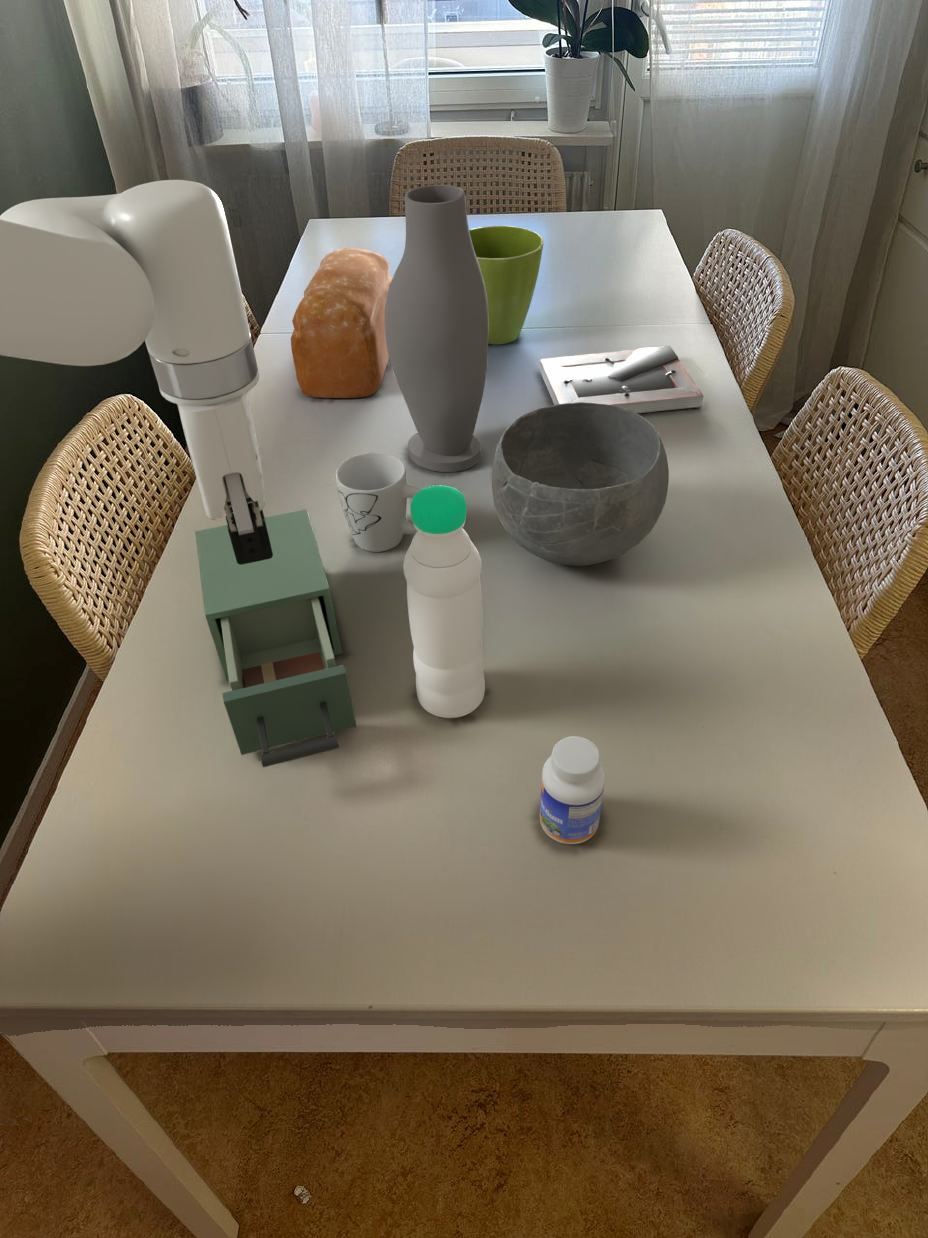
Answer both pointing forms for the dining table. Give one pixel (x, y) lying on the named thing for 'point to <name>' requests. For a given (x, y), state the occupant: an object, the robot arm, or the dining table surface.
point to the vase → (439, 329)
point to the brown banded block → (282, 669)
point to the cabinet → (263, 575)
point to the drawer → (284, 683)
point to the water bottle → (445, 604)
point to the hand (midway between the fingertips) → (254, 553)
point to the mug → (375, 499)
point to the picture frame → (623, 380)
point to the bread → (342, 326)
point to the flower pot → (507, 276)
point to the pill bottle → (572, 791)
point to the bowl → (579, 481)
